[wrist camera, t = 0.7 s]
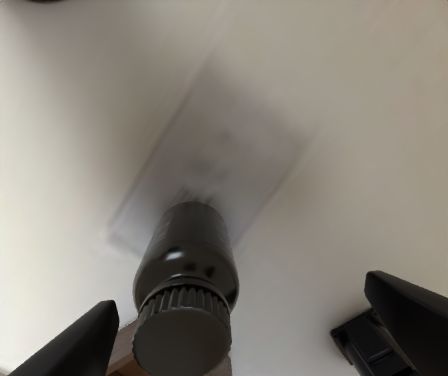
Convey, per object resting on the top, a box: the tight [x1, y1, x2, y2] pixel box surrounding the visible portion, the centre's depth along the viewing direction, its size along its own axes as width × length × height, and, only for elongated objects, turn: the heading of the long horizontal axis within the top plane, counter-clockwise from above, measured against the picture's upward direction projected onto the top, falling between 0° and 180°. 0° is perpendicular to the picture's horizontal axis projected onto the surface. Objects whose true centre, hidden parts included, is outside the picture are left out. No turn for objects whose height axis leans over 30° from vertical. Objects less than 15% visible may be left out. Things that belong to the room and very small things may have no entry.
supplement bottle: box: [132, 202, 239, 376], centre depth 16 cm, size 7×7×12 cm
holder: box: [105, 320, 232, 376], centre depth 24 cm, size 12×12×4 cm
